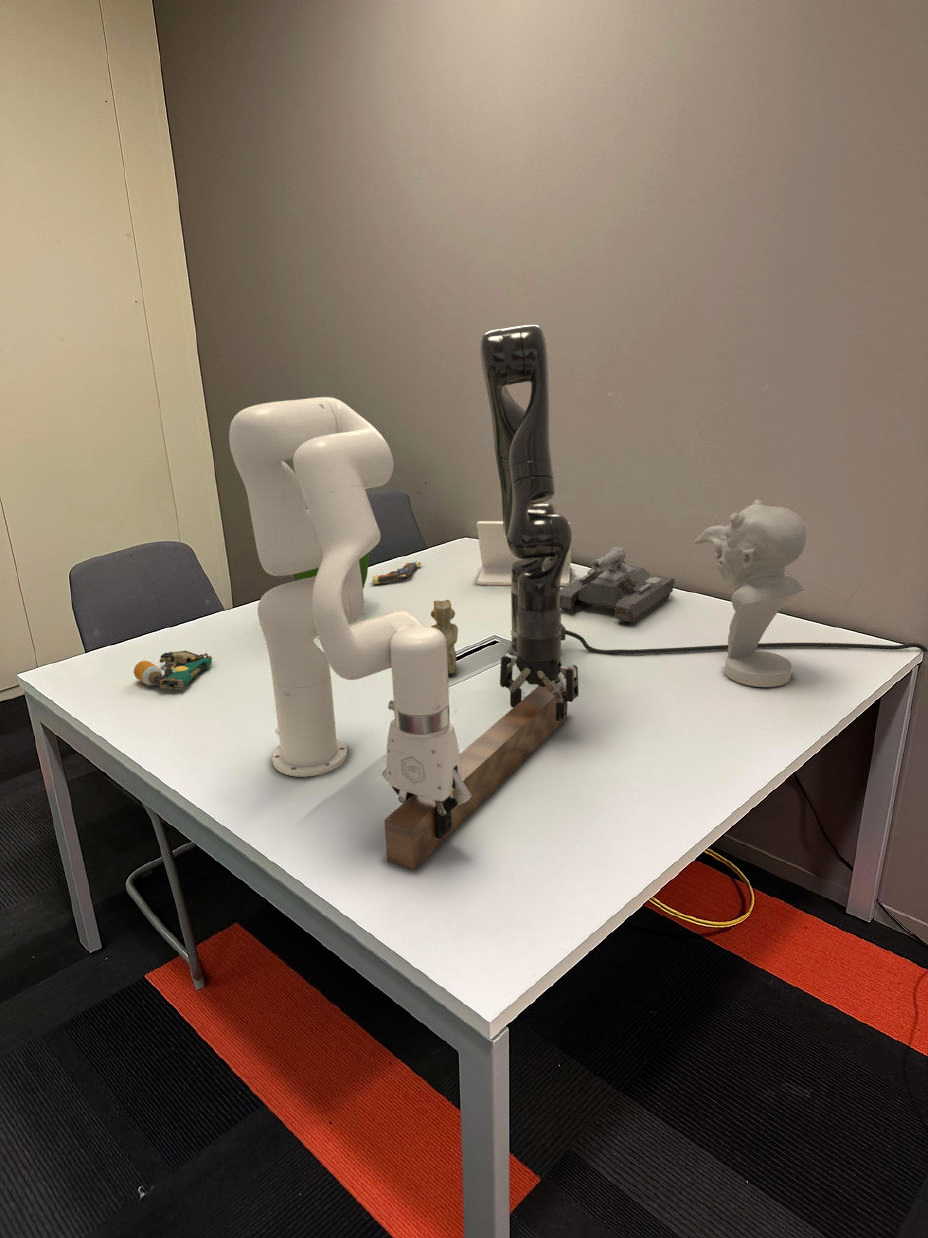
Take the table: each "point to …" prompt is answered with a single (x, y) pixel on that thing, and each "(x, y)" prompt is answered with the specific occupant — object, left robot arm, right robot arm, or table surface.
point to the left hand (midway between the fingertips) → (427, 827)
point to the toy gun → (396, 573)
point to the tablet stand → (502, 556)
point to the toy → (617, 588)
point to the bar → (473, 777)
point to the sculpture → (446, 629)
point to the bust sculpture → (757, 585)
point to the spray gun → (172, 669)
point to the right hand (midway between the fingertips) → (538, 714)
